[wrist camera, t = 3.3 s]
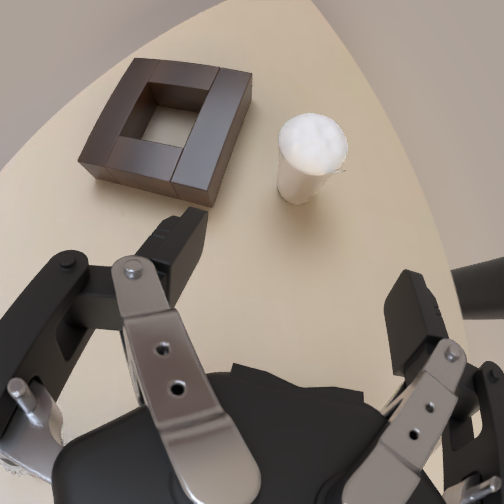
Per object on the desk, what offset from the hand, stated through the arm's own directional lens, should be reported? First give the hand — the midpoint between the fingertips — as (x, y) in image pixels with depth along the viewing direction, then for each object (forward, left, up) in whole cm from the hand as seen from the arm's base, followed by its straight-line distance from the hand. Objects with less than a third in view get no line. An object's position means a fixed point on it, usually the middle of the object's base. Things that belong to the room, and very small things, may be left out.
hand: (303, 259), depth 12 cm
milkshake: (-5, -6, -14) cm, 16 cm away
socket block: (+3, -16, -14) cm, 22 cm away
